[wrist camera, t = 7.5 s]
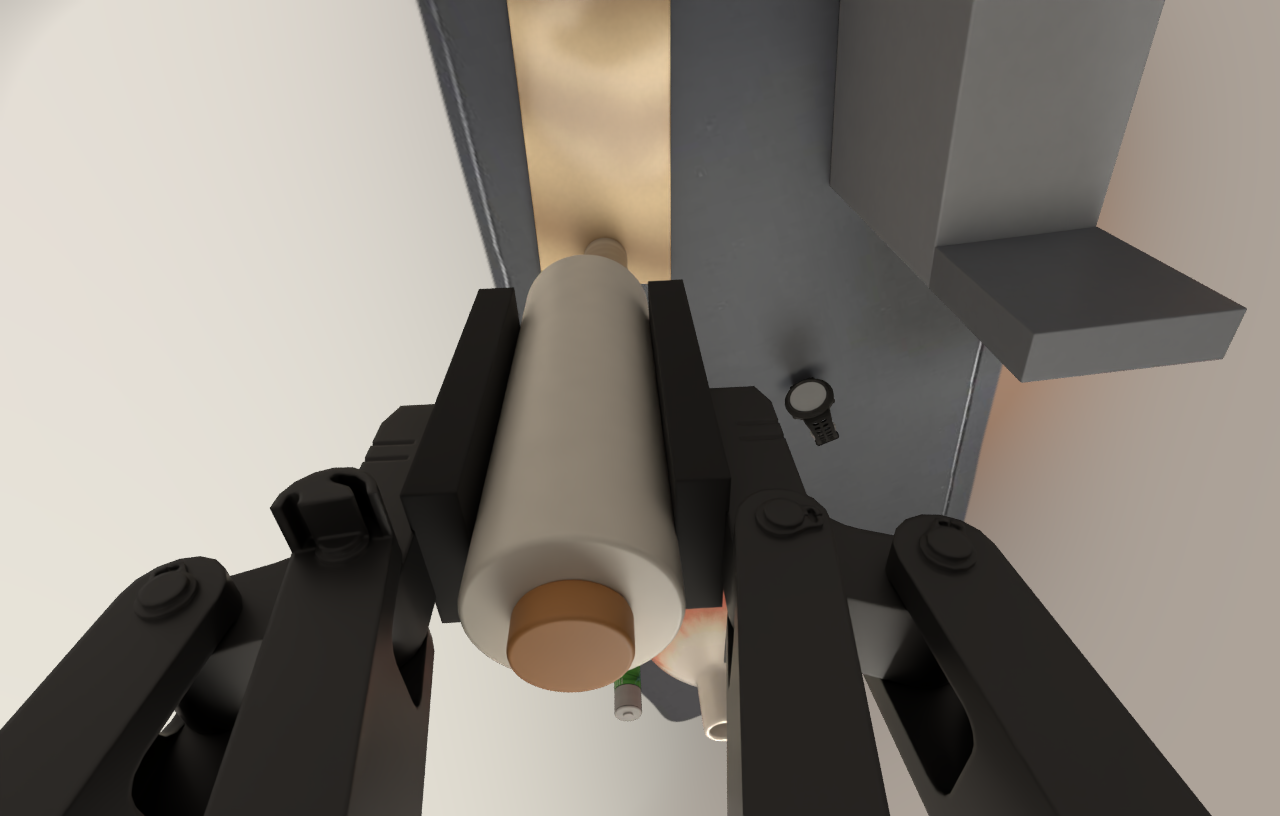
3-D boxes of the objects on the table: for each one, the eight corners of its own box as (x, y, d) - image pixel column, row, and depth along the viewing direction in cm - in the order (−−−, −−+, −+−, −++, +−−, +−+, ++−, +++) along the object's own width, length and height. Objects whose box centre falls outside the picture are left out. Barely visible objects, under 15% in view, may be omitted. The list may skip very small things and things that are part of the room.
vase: (774, 585, 65) (820, 762, 51) (644, 607, 67) (653, 786, 52) (760, 489, 58) (810, 666, 43) (613, 517, 59) (614, 697, 44)
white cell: (554, 231, 15) (498, 547, 7) (669, 285, 15) (738, 619, 8) (508, 335, 16) (416, 694, 8) (615, 379, 17) (625, 740, 9)
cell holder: (490, -141, 32) (447, -178, 23) (669, -147, 32) (689, -186, 24) (544, 283, 45) (528, 358, 37) (670, 278, 45) (683, 351, 37)
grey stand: (853, -262, 30) (1315, -687, 10) (1003, -286, 30) (1769, -766, 10) (829, 186, 42) (1020, 383, 22) (935, 173, 42) (1223, 360, 22)
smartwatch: (830, 365, 50) (850, 401, 46) (826, 417, 53) (844, 455, 49) (778, 370, 50) (793, 407, 46) (776, 422, 53) (790, 460, 49)
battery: (608, 633, 69) (608, 718, 61) (624, 620, 68) (626, 706, 60) (627, 642, 70) (630, 727, 62) (643, 630, 69) (648, 715, 61)
